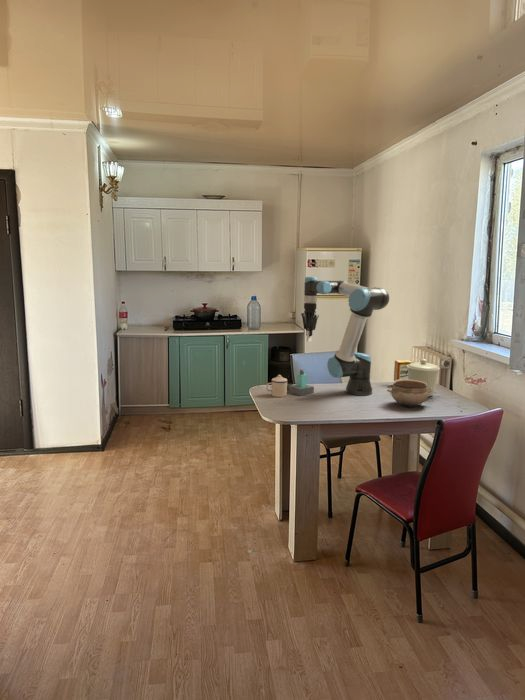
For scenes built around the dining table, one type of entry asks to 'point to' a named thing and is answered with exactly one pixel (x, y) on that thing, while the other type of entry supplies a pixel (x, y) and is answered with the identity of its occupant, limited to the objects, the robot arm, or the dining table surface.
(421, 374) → the canister
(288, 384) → the frame
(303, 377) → the aqua plug
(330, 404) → the dining table surface
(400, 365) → the baking soda box
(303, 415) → the dining table surface
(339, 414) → the dining table surface
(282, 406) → the dining table surface
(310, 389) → the port panel
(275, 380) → the teacup with lid
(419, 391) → the cooking pot
